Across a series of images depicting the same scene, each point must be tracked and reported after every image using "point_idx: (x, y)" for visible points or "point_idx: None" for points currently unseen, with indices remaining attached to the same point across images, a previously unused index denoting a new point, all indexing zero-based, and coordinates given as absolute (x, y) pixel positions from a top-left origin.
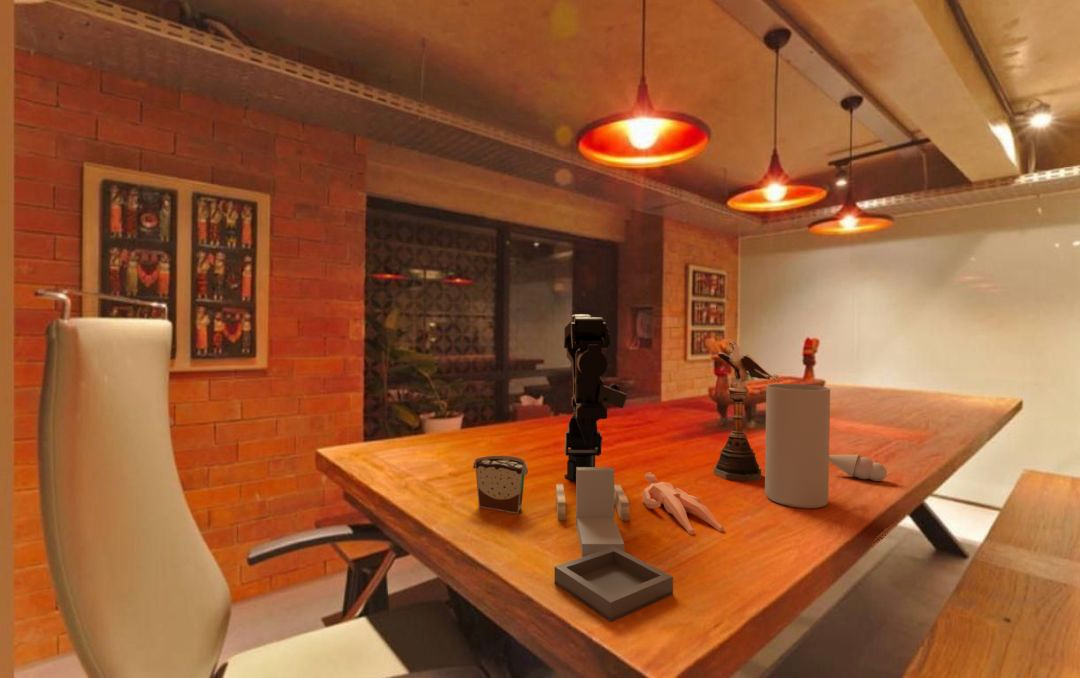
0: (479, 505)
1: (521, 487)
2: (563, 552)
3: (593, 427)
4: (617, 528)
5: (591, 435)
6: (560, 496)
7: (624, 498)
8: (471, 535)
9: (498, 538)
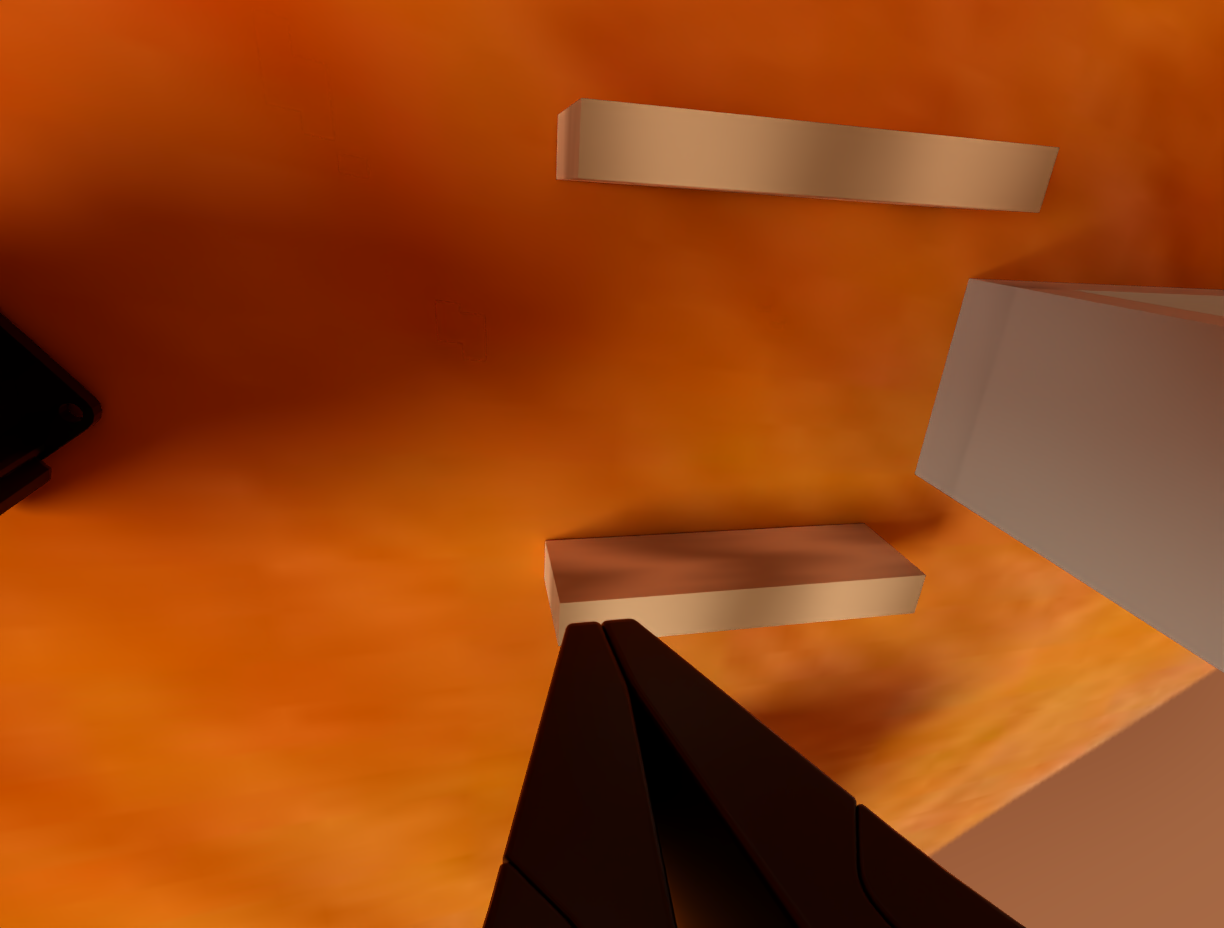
0: None
1: None
2: None
3: (969, 913)
4: (1201, 299)
5: (758, 738)
6: (822, 606)
7: (963, 162)
8: (914, 815)
9: (963, 740)
